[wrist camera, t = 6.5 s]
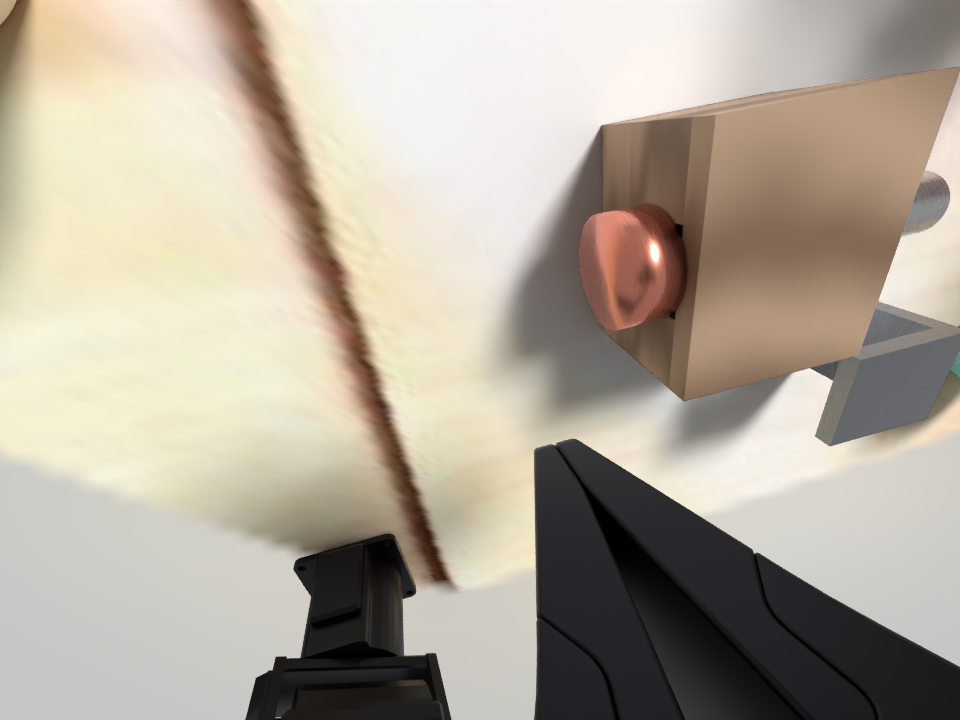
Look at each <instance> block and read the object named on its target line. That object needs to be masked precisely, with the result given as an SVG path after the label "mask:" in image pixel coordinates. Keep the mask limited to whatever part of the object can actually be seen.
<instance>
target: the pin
mask: <svg viewBox="0 0 960 720" xmlns="http://www.w3.org/2000/svg"><path fill="white" fill-rule="evenodd" d="M949 201H950V191H949V187H948V185H947V183H946V181H945V180H944V179H943V178H942V177H941V176H939V175H938V174H936V173H934V172H931V171H925V170H924V173H923V176H922V179H921V181H920V184H919V187H918V190H917V193H916V196H915V198H914V201H913V204H912V207H911V210H910V212H909V215H908V218H907V221H906V224H905V227H904V229H903V232H902V235H901V237H902V236H906V235H911V234H915V233H919V232H922V231H924V230H926V229H928V228H930V227H932V226H933V225H934V224H936V223H937V222H938V221H939V220H940V219H941V218H942V216H943V215H944V213H945V212H946V210H947V208H948V205H949ZM682 233H683V225H681V224H674V222H673V221H672V219H671V217H670V216H669V215H668V214H667V213H666V212H665V211H664V210H663V209H662V208H661V207H659V206H657V205H655V204H651V203H645V204H640V205H635V206H631V207H626V208H622V209H617V210H612V211H608V212H603V213H598V214H594V215H592V216H591V217H589V218H588V220H587V221H586V223H585V225H584V227H583V229H582V233H581V237H580V243H579V268H580V275H581V281H582V286H583V289H584V293H585V296H586V299H587V302H588V304H589V306H590V308H591V311H592V312H593V314H594V316H595V317H596V319H597V320H598V321H599V323H600V324H601V325H602V326H604V327H605V328H606V329H608V330H612V331H616V330H620V329H625V328H629V327H633V326H637V325H641V324H645V323H649V322H653V321H657V320H661V319H665V318H667V317H669V316H670V315H671V314H673V313H674V312H675V310H676V309H677V307H678V306H679V304H680V302H681V299H682V296H683V293H684V289H685V282H686V260H685V253H684V248H683V244H682Z"/></svg>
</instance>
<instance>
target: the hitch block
mask: <svg viewBox="0 0 960 720" xmlns="http://www.w3.org/2000/svg"><path fill="white" fill-rule="evenodd" d="M959 72H960V67H953V68H946V69H938V70H931V71H924V72H917V73H909V74H902V75H895V76H888V77H880V78H873V79H866V80H858V81H851V82H844V83H837V84H829V85H822V86H815V87H808V88H800V89H793V90H786V91H779V92H771V93H766V94H760V95H755V96H750V97H745V98H740V99H735V100H730V101H724V102H719V103H714V104H709V105H704V106H699V107H694V108H689V109H683V110H678V111H673V112H668V113H663V114H658V115H653V116H647V117H642V118H637V119H632V120H627V121H622V122H617V123H611V124H606V125H602V193H603V212H608V211H612V210H617V209H622V208H626V207H631V206H635V205H640V204H645V203H651V204H655V205H657V206H659V207H661V208H662V209H663V210H664V211H665V212H666V213H667V214H668V215H669V216H670V217H671V219H672V221H673V222H674V224H681V225H683V233H682V244H683V248H684V253H685V260H686V282H685V289H684V293H683V296H682V299H681V302H680V304H679V306H678V307H677V309H676V310H675V312H674V313H673V314H671V315H670V316H669V317H667V318H665V319H661V320H657V321H653V322H649V323H645V324H641V325H637V326H633V327H629V328H625V329H620V330H616V331H612V330H608V329H606V328H605V327H604V332H605V333H606V334H607V335H608V336H609V337H611V338H612V339H613V340H614V341H615V342H616V343H617V344H619V345H620V346H621V347H622V348H623V349H624V350H626V351H627V352H628V353H629V354H630V355H631V356H632V357H634V358H635V359H636V360H637V361H638V362H639V363H640V364H642V365H643V366H644V367H645V368H646V369H647V370H648V371H650V372H651V373H652V374H653V375H654V376H655V377H656V378H658V379H659V380H660V381H661V382H662V383H663V384H664V385H666V386H667V387H668V388H669V389H670V390H671V391H672V392H674V393H675V394H676V395H677V396H678V397H679V398H680V399H682V400H683V401H688V400H692V399H695V398H699V397H703V396H707V395H710V394H714V393H718V392H722V391H725V390H729V389H733V388H737V387H740V386H744V385H748V384H752V383H755V382H759V381H763V380H767V379H770V378H774V377H778V376H782V375H786V374H789V373H793V372H797V371H801V370H804V369H808V368H812V367H816V366H819V365H823V364H827V363H831V362H834V361H838V360H842V359H846V358H849V357H853V356H857V355H859V353H860V350H861V348H862V345H863V342H864V339H865V336H866V334H867V331H868V328H869V325H870V322H871V320H872V317H873V314H874V311H875V308H876V305H877V303H878V300H879V297H880V294H881V291H882V289H883V286H884V283H885V280H886V277H887V274H888V272H889V269H890V266H891V263H892V260H893V258H894V255H895V252H896V249H897V246H898V243H899V241H900V238H901V235H902V232H903V229H904V227H905V224H906V221H907V218H908V215H909V212H910V210H911V207H912V204H913V201H914V198H915V196H916V193H917V190H918V187H919V184H920V181H921V179H922V176H923V173H924V170H925V167H926V165H927V162H928V159H929V156H930V153H931V151H932V148H933V145H934V142H935V139H936V136H937V134H938V131H939V128H940V125H941V122H942V120H943V117H944V114H945V111H946V108H947V105H948V103H949V100H950V97H951V94H952V91H953V89H954V86H955V83H956V80H957V77H958V74H959Z"/></svg>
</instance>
